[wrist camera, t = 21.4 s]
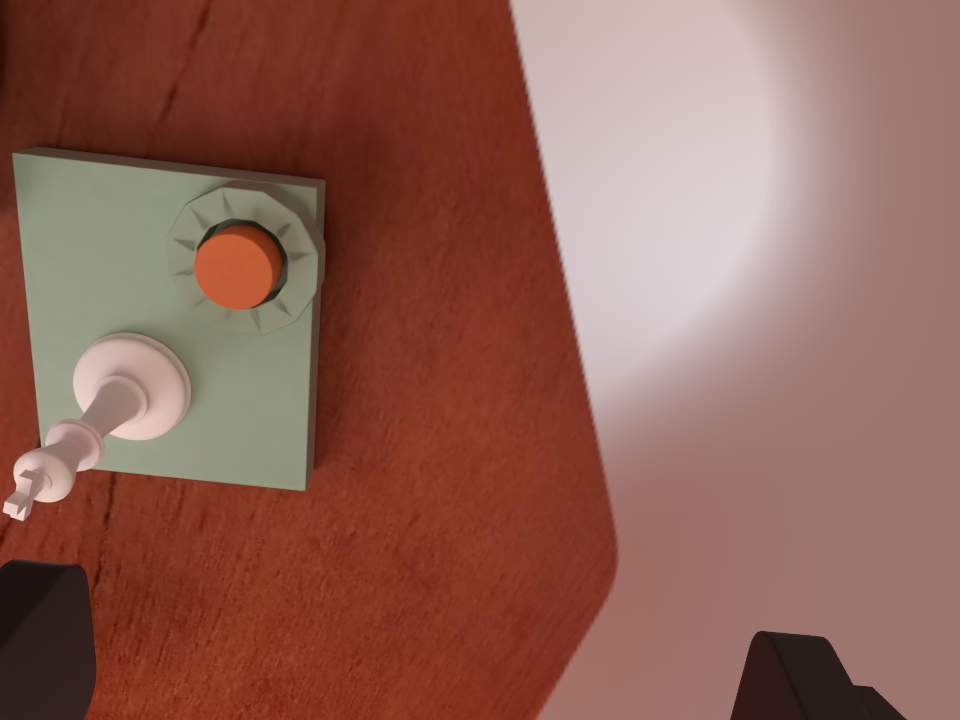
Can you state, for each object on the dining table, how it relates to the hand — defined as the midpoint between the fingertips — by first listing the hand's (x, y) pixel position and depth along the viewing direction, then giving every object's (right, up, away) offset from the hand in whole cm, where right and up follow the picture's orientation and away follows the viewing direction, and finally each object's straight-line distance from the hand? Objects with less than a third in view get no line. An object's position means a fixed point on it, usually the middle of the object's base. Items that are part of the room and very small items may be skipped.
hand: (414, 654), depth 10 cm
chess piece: (-14, +3, +26) cm, 30 cm away
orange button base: (-12, +5, +27) cm, 30 cm away
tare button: (-8, +7, +22) cm, 25 cm away
